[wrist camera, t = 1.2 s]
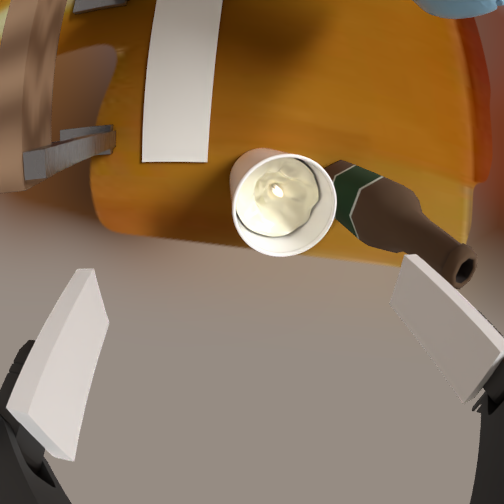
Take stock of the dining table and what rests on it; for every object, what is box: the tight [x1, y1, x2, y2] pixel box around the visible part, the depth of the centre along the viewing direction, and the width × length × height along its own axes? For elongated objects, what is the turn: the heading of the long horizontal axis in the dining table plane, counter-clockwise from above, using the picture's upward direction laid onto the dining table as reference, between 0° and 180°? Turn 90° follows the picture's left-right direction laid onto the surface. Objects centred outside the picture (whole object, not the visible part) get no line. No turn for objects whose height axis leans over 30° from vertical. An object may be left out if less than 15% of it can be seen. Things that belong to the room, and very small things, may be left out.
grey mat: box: [142, 0, 223, 162], centre depth 28 cm, size 26×8×1 cm, turn 175°
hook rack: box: [23, 0, 129, 180], centre depth 18 cm, size 24×8×18 cm, turn 175°
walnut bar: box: [0, 0, 67, 193], centre depth 13 cm, size 24×3×5 cm, turn 175°
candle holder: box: [229, 148, 337, 257], centre depth 31 cm, size 10×10×12 cm
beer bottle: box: [324, 160, 477, 289], centre depth 28 cm, size 8×8×24 cm
